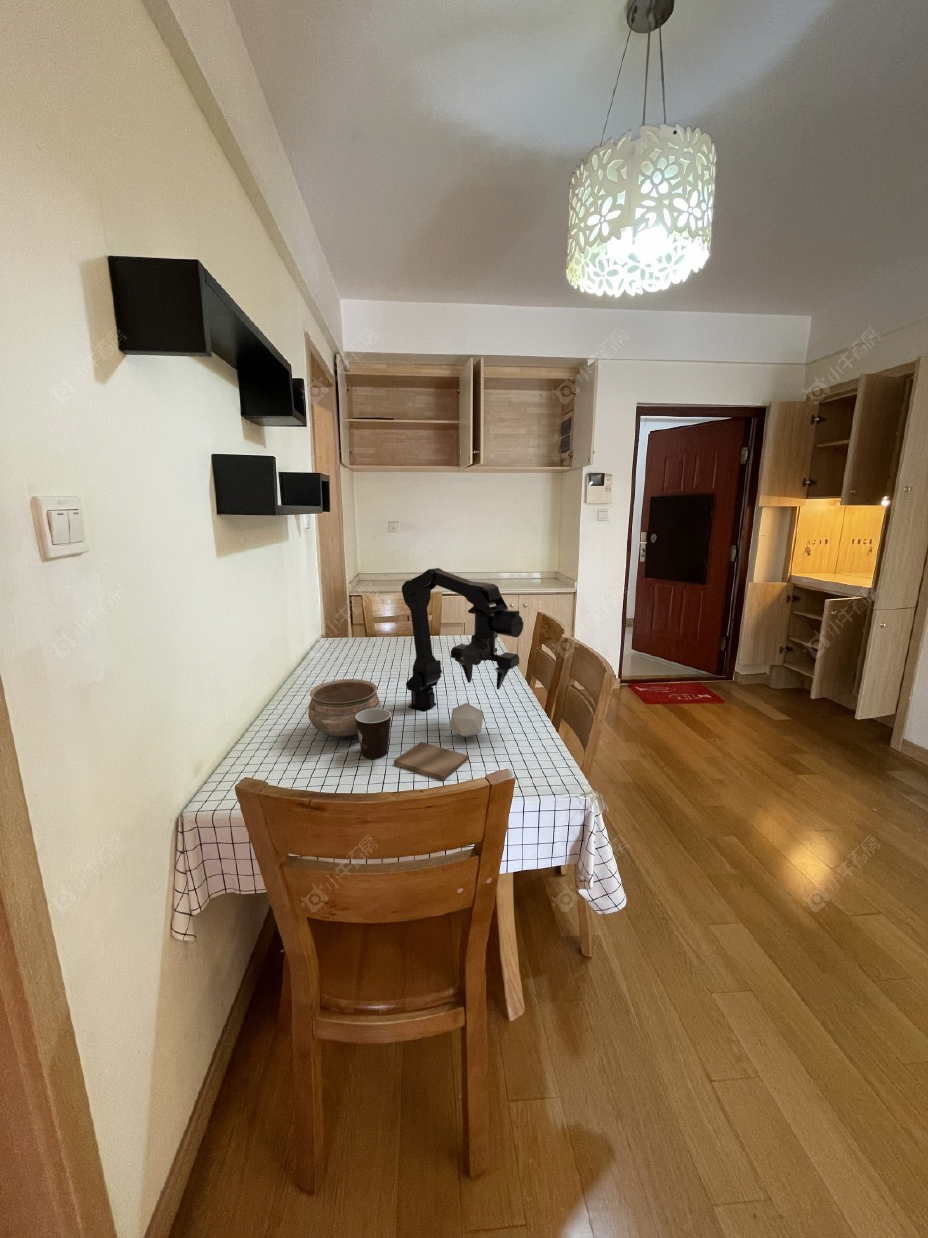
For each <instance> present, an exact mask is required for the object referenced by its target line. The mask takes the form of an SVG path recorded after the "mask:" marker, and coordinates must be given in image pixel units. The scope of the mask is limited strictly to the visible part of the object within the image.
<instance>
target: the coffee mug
mask: <svg viewBox="0 0 928 1238" xmlns="http://www.w3.org/2000/svg"><path fill="white" fill-rule="evenodd" d="M355 718H356V724H357V730H358V734H357V735H358V741H359V746H360V751H361V752H360V753H361V756H362V758H364V759H368V760H378V759H381V758H384V757H386V756H387V755H388V753H389V745H390V744H389V741H390V731H391V730H390V729H391V720H392V713H391V712H390V711H389V710H387V709H384V708H381V709H378V708H374V709H367V710H363V711H361V712H359V713H357V714H356V716H355Z"/></svg>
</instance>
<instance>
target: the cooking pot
mask: <svg viewBox="0 0 928 1238" xmlns="http://www.w3.org/2000/svg"><path fill="white" fill-rule="evenodd" d="M377 691H378V686H377V685H376V684H375V683H374V682H372V681H369V680H365V679H356V678H354V679H353V678H349V679H347V678H346V679H336V680H332V681H326V682H323V683H321V684H318V685H317V686H315V687H313V688H312V689H311V690H310V692H309V696H310V698H311V699H310V701H309V705H308V708H307V709H308V710H307V711H308V713H307V714H308V719H309V721H310V723H311V724H312V726H313V727H314V728H315V729H316V730H317V731H319V732H320V733H323V734H325V735H328V736H332V737H336V738H339V739H349V738H353V737H355V736H357V735H358V730H357V724H356V718H355V716H356V714H357V713H359V712H361V711H363V710H367V709H374V708H378V709H382V708H381V702H380V698H379V696H378V694H377Z"/></svg>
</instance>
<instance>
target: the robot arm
mask: <svg viewBox="0 0 928 1238" xmlns="http://www.w3.org/2000/svg"><path fill="white" fill-rule="evenodd" d="M436 587H440V588H443V589H446V590H449V591H451V592H453V593H455V594H457V595H460V596H462V597H464V598H465V599H466V600H467V602H468V603H470V604H472V605H473V606H472V607H471V608H470V609H468V611H467V613H468V614H472V615H473V614H474V626H473V627H474V629H473V630H474V631H473V632H474V633H473V634H472V635H471V638H470V643H468V644H464V643H460V644H458V645H455V646H453V647H452V648H451V650H450V658H451V659H454V661H455V662H458V663H459V664H460V666H461V667H462V670H463V672H464V676H465V678H466V681H467V683H470V684H471V682H472V679H473V668H474V666H478V665H480V664H481V662H482V661H484V662H487V661H491V662H496V666H497V667H495V670H496V672H497V673H496V674H497V675H496V690H500V689H501V688H502V685H503V683H504V680H505V678H506V677H507V675H508V673H509V671H510V670H512V669H513V668H515V667H517V666H518V665H520V657H519V655H518V654H517V653H513V652H508V651H507V652H504V653H502V654H496V653H497V652H498V648H497V647H496V639H497V638H499V637H498V636H499V635H502V636H507V637H511V638H515V639H516V638H519V637H520V636H521V634H522V632H523V629H524V621H523V618H522V616H521V615H520V610H511V609H510V610H509V607H508V606H507V604H506V603H507V602H505V600H504V598H503V596H502V594H501V591H500V590H499V586H498V585H497V584H495V583H489V582H482V581H480V582H479V581H472V580H469V579H466V578H465V577H461V576H458V575H455V574H453V573H451V572H448V571H445V570H443V569H442V568H439V567H435V568H428V569H427V570H425V571H424V572H422V573H421V574H419V575H417V576H416V577H414V578H411V579H410V580H406V581H405V582H404V583H402V585H401V593H402V598H403V601H404V603H405V605H406V606H407V608H408V609H409V611H410V617H411V624H412V632H413V634H412V635H413V639H414V640H413V641H414V647H415V648H414V650H415V659H414V663H413V665H412V676H411V677H410V678H409V679H408V680H407V681H406V683H405V685H406V689H407V690H408V691H410V694H411V695H410V696H411V697H410V698H411V702H410V703H411V704H409V705H408V708H409V709H414V710H417V711H421V712H427V711H429V710H430V709H432V708H434V707H435V706H437V703H436V702H435V700H436V699H435V698H436V697H435V692H434V687H435V686H437V685H438V682H439V680H440V679H441V677H442V673H443V671H442V665H441V664H442V663H441V660H440V659H438V660H437V659H436V657H435V656H434V655H433V647H432V640H431V639H432V638H431V630H430V624H429V616H428V615H429V614H428V607H429V604H430V603H431V602H430V601H431V599H432V598H431V597H432V596H431V593H432V590H433V589H435V588H436Z"/></svg>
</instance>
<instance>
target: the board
mask: <svg viewBox="0 0 928 1238" xmlns="http://www.w3.org/2000/svg"><path fill="white" fill-rule="evenodd" d="M468 761H469V755H468V754H465V753H461V752H457V751H454V750H451V749H447V748H444V747H441V746H437V745H434V744H430V743H427V742H424V741H423V742H422V741H420V742H419V743H417V744H415V745H414V746H413V747H411V748H409V749H408V750H407V751H405V752H404V753H403V754H401V755H399V756H398V757H397V758H395V759H394V760H393V765H394V766H396V767H399V768H401V769H406V770H409V771H412V772H414V773H418V774H421V775H424V776H426V777H430V778H433V779H436V780H439V781H442V782H445V781H446V780H447V779H448V778H450V776H452V775H453V774H454V773H455V772H456V771H458V769H460V768H461V767H462V766H463V765H464V764H465V763H466V762H468Z"/></svg>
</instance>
